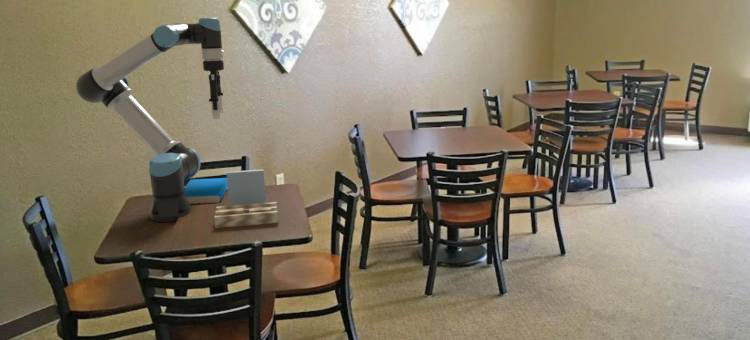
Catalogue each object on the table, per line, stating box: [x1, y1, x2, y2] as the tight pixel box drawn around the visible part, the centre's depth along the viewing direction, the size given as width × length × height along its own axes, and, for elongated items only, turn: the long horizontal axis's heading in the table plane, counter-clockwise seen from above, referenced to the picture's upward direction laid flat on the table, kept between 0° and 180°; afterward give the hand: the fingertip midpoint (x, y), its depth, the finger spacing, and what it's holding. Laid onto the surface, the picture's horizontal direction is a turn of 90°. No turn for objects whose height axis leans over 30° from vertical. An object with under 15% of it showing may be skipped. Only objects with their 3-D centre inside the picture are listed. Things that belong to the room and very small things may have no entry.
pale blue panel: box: [225, 168, 267, 206], centre depth 233 cm, size 14×2×16 cm, turn 100°
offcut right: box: [249, 207, 272, 213], centre depth 218 cm, size 8×2×4 cm, turn 101°
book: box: [184, 177, 228, 205], centre depth 257 cm, size 17×4×25 cm
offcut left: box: [217, 208, 244, 216], centre depth 216 cm, size 9×2×5 cm, turn 100°
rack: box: [213, 201, 279, 229], centre depth 220 cm, size 22×12×6 cm, turn 101°
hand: (217, 115), depth 232 cm, fingers open, 13 cm apart
